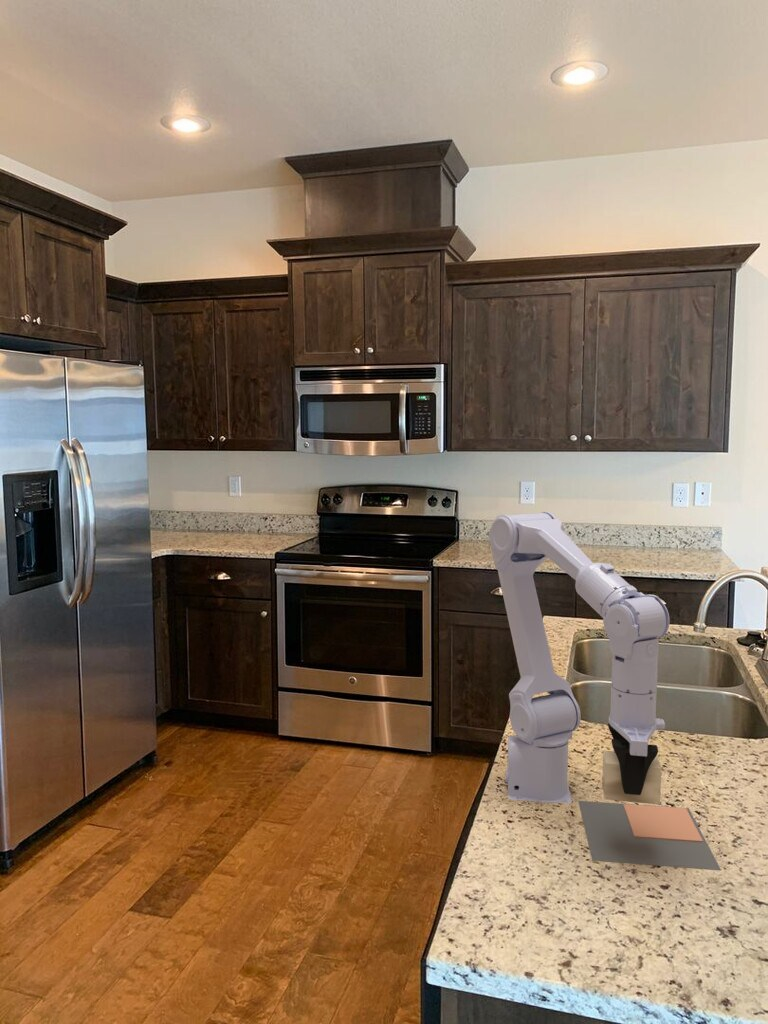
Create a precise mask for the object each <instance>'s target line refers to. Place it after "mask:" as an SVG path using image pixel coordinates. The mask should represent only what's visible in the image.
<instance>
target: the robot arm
mask: <svg viewBox="0 0 768 1024" xmlns="http://www.w3.org/2000/svg"><path fill="white" fill-rule="evenodd" d="M488 539H489V540H488V541H489V545H490V550H491V554H492V558H493V564H494V568H495V569H496V570H497V573H498V578H499V583H500V587H501V592H502V596H503V601H504V607H505V611H506V617H507V620H508V625H509V629H510V634H511V638H512V644H513V648H514V653H515V657H516V662H517V667H518V672H519V676H520V679H519V680H518V681H517V683H516V684H515V685H514V687H513V688H511V690H510V691H509V693H508V698H509V704H510V709H509V710H510V711H509V721H510V726H511V728H512V731H513V732H514V734H515V735H508V739H507V770H505V783H507V796H508V800H513V801H524V802H525V801H527V802H541V803H556V804H568V805H569V804H572V803H573V802H572V796H571V791H570V788H569V783H568V773H569V771H568V769H569V767H568V766H569V765H568V764H569V763H568V762H569V740H572V739H573V733H574V732H575V731H576V730H577V729H578V728H579V727H580V724H581V719H582V717H581V715H582V713H581V708H580V705H579V703H578V701H577V700H576V698H575V696H574V694H573V691H572V686H571V684H570V682H569V681H567V680H566V679H565V678H564V677H562V676H560V675H558V674H557V673H556V671H555V668H554V664H553V660H552V654H551V651H550V646H549V643H548V641H549V640H548V637H547V633H546V628H545V623H544V619H543V615H542V610H541V606H540V601H539V598H538V593H537V589H536V584H535V580H534V574H535V572H536V570H537V568H538V567H540V566H541V565H543V563H544V562H546V560H547V558H548V559H549V560H550V561H551V562H553V563H554V564H555V565H556V566H557V567H559V568H560V569H561V570H562V571H564V572H565V574H567V575H569V576H570V577H571V578H572V579H573V580H574V581H575V585H574V587H575V591H576V593H577V594H578V595H579V596H580V597H581V599H583V600H584V601H585V602H586V603H587V604H588V605H589V606H590V607H591V608H592V609H593V610H594V611H595V612H596V613H597V614H598V615H600V617H601V618H602V621H603V622H602V623H603V627H604V630H605V633H606V635H607V637H608V649H609V650H610V653H611V654H612V655H611V656H612V658H611V659H612V660H611V662H612V663H611V686H610V687H611V688H610V689H611V691H610V714H609V715H608V723H607V726H608V730H609V732H610V734H611V737H612V738H611V746H612V749H613V752H615V753H616V756H617V758H618V761H619V765H620V772H621V780H622V786H623V790H624V793H625V794H632V795H641V792H642V789H643V786H644V782H645V779H646V775H647V772H648V769H649V767H650V765H651V763H652V761H653V760H654V759H655V757H656V756H658V754H659V753H658V752H659V748H658V746H657V745H656V744H648V742H649V741H650V739H651V737H652V736H653V734H654V733H655V732H656V730H664V729H665V728H666V722H665V720H664V719H663V718H658V717H656V715H657V714H656V713H657V712H656V711H657V695H658V694H657V693H658V691H657V689H658V670H659V669H658V666H659V665H658V664H659V643H660V638H663V637H664V636H665V635H666V634H667V632H668V630H669V629H670V628H669V627H670V620H671V619H670V613H669V611H668V608H667V607H666V605H665V603H664V602H663V601H662V600H661V599H660V597H659V596H658V595H655V594H644V593H643V592H641V591H640V592H638V589H637V588H636V587H635V586H633V585H631V584H630V583H628V582H627V580H625V579H624V578H623V577H622V576H620V574H618V573H617V572H616V571H615V569H616V568H615V567H614V566H613V565H612V564H611V563H605V562H594V563H593V561H592V560H591V559H590V558H589V557H588V556H587V555H586V554H585V553H584V552H583V550H581V549H580V547H579V546H578V545H577V544H576V543H575V542H574V541H573V540H572V539H571V538H570V537H569V535H567V534H566V533H565V529H564V524H563V521H562V520H560V519H558V518H557V517H556V516H555V514H553V513H552V512H550V511H542V512H539V513H523V514H522V513H520V514H518V513H517V514H506V513H504V514H503V513H502V514H500V515H498V516H496V517H495V519H494V520H493V523H492V525H491V527H490V530H489V533H488ZM544 693H547V694H546V695H545V694H544ZM539 694H544V695H541V696H540V695H539ZM535 695H539V696H536V697H534V696H535Z"/></svg>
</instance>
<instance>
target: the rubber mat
mask: <svg viewBox="0 0 768 1024" xmlns="http://www.w3.org/2000/svg"><path fill="white" fill-rule="evenodd" d="M578 805H579V809H580V813H581V818H582V821H583V827H584V831H585V835H586V838H587V840H586V841H587V844H588V847H589V853H590V856H591V861H595V862H596V861H597V862H606V863H618V864H619V863H620V864H635V865H645V866H657V867H669V868H670V867H671V868H672V867H673V868H682V869H683V868H684V869H694V870H695V869H698V870H710V871H719V872H720V871H722V869H721V867H720V865H719V863H718V861H717V859H716V858H715V856H714V854H713V852H712V850H711V848H710V846H709V844H708V842H707V841H706V839H705V837H704V834H703V833H702V831H701V829H700V826H699V825H698V824H697V821H696V819H695V818H694V815H693V814H692V812H691V810H690V808H689V807H676V806H662V805H661V806H660V805H650V804H633V803H631V804H630V803H620V802H619V803H616V802H603V801H588V800H586V801H585V800H578Z"/></svg>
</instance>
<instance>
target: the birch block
mask: <svg viewBox="0 0 768 1024" xmlns="http://www.w3.org/2000/svg"><path fill="white" fill-rule="evenodd" d="M602 754H603V755H602V783H601V784H602V785H601V786H602V791H603V792H602V793H603V799H604V800H609V801H617V802H618V801H620V802H629V803H640V804H646V805H656V806H660V805H661V792H662V790H661V789H662V766H661V762H660V760H659V757H658V755H657V756H656V757H655V759H654V760H653V761H652V763H651V765H650V767H649V769H648V772H647V775H646V779H645V782H644V786H643V789H642V792H641V795H632V794H625V793H624V790H623V786H622V780H621V772H620V765H619V761H618V758H617V756H616V753H615V751H614V750H612V751H610V750H603V751H602Z"/></svg>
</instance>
